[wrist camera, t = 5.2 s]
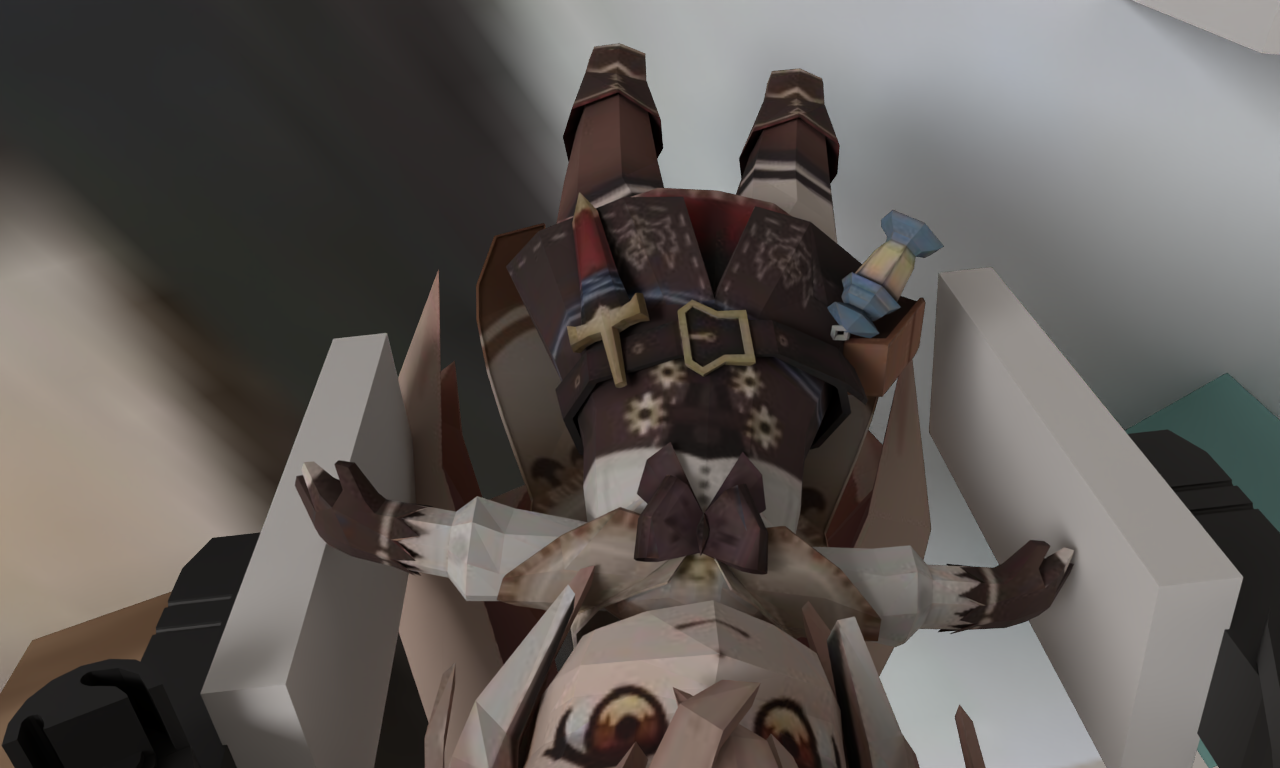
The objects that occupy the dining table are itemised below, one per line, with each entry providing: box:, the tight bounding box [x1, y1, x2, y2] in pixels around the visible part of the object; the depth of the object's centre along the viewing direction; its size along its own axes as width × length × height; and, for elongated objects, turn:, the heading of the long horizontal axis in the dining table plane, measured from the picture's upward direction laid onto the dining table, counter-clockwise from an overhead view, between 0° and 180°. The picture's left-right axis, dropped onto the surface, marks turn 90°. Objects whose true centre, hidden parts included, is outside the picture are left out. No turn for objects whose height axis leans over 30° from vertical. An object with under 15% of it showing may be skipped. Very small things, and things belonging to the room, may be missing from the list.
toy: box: [295, 43, 1074, 768], centre depth 13 cm, size 9×8×15 cm
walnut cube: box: [0, 592, 171, 768], centre depth 24 cm, size 5×5×5 cm
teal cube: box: [1125, 373, 1280, 768], centre depth 24 cm, size 5×5×5 cm
